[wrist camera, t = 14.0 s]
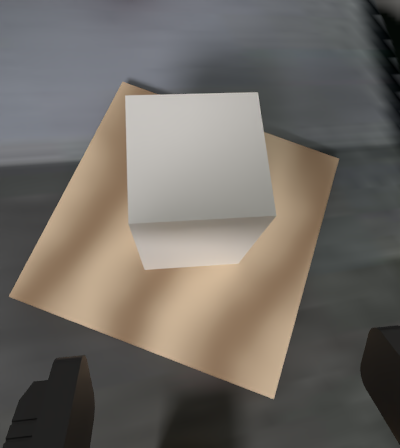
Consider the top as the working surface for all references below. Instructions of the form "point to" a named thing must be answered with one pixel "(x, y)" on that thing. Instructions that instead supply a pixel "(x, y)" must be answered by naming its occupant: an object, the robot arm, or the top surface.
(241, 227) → the light grey rectangular block
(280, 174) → the board
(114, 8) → the top surface
